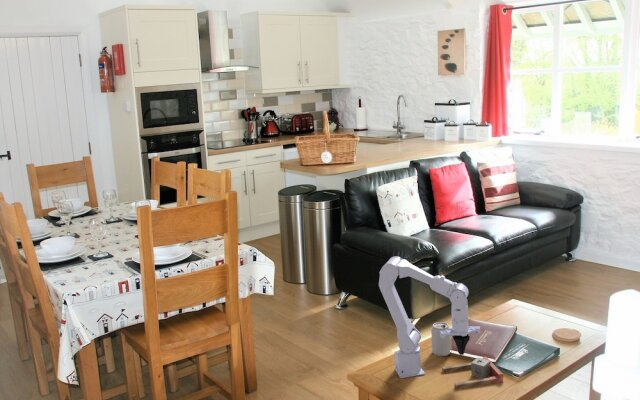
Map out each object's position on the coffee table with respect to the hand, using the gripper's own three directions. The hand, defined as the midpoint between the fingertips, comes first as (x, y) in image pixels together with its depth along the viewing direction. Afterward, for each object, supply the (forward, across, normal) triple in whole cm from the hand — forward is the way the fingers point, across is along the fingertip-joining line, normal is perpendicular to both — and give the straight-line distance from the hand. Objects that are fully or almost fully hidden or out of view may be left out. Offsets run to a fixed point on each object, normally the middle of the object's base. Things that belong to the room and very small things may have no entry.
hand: (461, 353), depth 221 cm
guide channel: (+10, +3, 0) cm, 10 cm away
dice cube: (+10, +8, 0) cm, 12 cm away
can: (+10, 0, +21) cm, 23 cm away
